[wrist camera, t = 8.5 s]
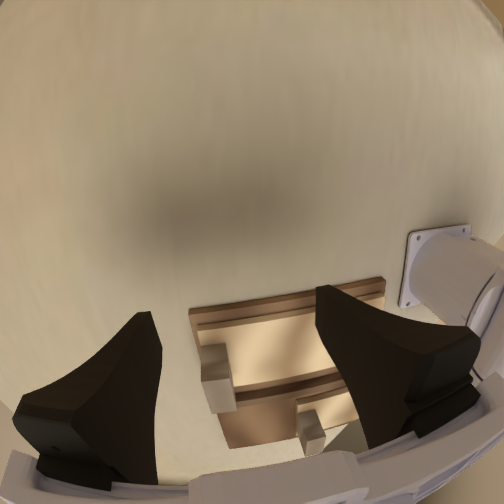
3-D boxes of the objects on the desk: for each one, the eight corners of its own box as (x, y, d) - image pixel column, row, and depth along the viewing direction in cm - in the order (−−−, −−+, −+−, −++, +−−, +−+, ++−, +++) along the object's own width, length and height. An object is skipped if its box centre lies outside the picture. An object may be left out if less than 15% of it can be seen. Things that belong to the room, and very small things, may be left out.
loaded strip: (417, 361, 28) (437, 385, 24) (403, 395, 31) (419, 419, 27) (295, 400, 27) (307, 434, 22) (294, 431, 29) (304, 461, 25)
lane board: (381, 276, 24) (393, 286, 22) (352, 416, 32) (357, 427, 30) (189, 309, 22) (187, 324, 20) (228, 444, 30) (230, 456, 28)
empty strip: (380, 291, 23) (410, 320, 19) (370, 350, 26) (392, 381, 21) (197, 325, 22) (196, 367, 17) (212, 383, 24) (215, 423, 20)
